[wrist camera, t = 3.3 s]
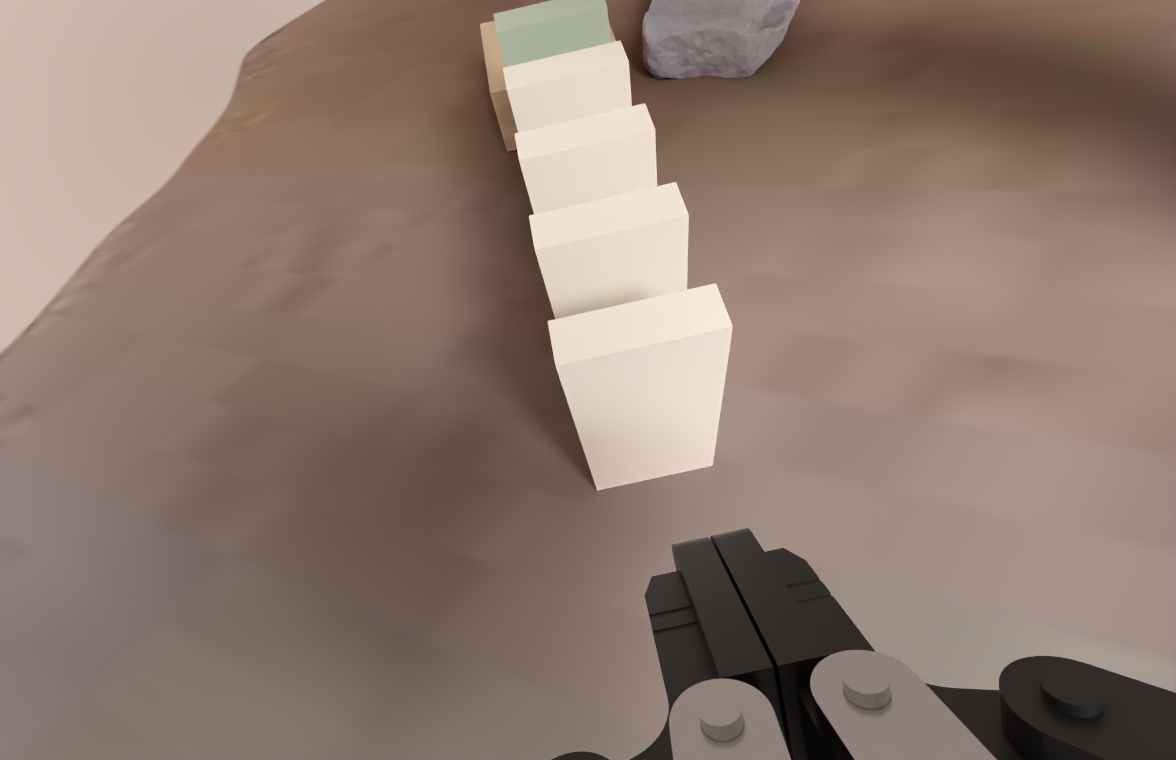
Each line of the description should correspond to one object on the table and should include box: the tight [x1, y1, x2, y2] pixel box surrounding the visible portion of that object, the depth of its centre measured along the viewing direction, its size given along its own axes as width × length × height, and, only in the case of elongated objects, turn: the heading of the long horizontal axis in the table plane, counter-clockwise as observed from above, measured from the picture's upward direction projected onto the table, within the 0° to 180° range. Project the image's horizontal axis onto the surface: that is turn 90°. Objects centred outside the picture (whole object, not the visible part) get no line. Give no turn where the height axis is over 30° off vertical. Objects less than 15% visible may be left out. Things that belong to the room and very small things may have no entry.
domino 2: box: [503, 40, 632, 133], centre depth 28 cm, size 2×5×10 cm, turn 100°
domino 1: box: [493, 0, 610, 67], centre depth 30 cm, size 2×5×10 cm, turn 100°
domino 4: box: [529, 182, 689, 319], centre depth 23 cm, size 2×5×10 cm, turn 100°
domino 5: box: [548, 283, 733, 491], centre depth 20 cm, size 2×5×10 cm, turn 100°
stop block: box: [480, 21, 616, 152], centre depth 37 cm, size 8×8×4 cm
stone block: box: [642, 0, 800, 79], centre depth 40 cm, size 12×5×10 cm
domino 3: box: [514, 103, 657, 214], centre depth 25 cm, size 2×5×10 cm, turn 100°
